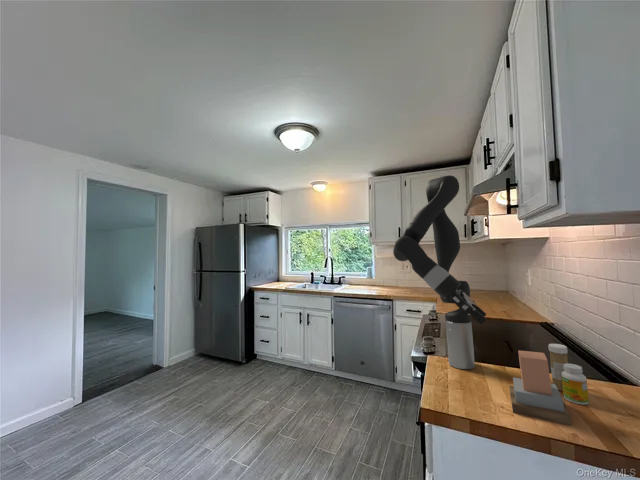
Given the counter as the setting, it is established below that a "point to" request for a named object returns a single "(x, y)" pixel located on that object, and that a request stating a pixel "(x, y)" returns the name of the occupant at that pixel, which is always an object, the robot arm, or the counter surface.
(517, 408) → the walnut slab
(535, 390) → the terracotta block
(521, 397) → the grey slab
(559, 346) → the sprinkles bottle
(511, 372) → the counter surface
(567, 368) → the supplement bottle
